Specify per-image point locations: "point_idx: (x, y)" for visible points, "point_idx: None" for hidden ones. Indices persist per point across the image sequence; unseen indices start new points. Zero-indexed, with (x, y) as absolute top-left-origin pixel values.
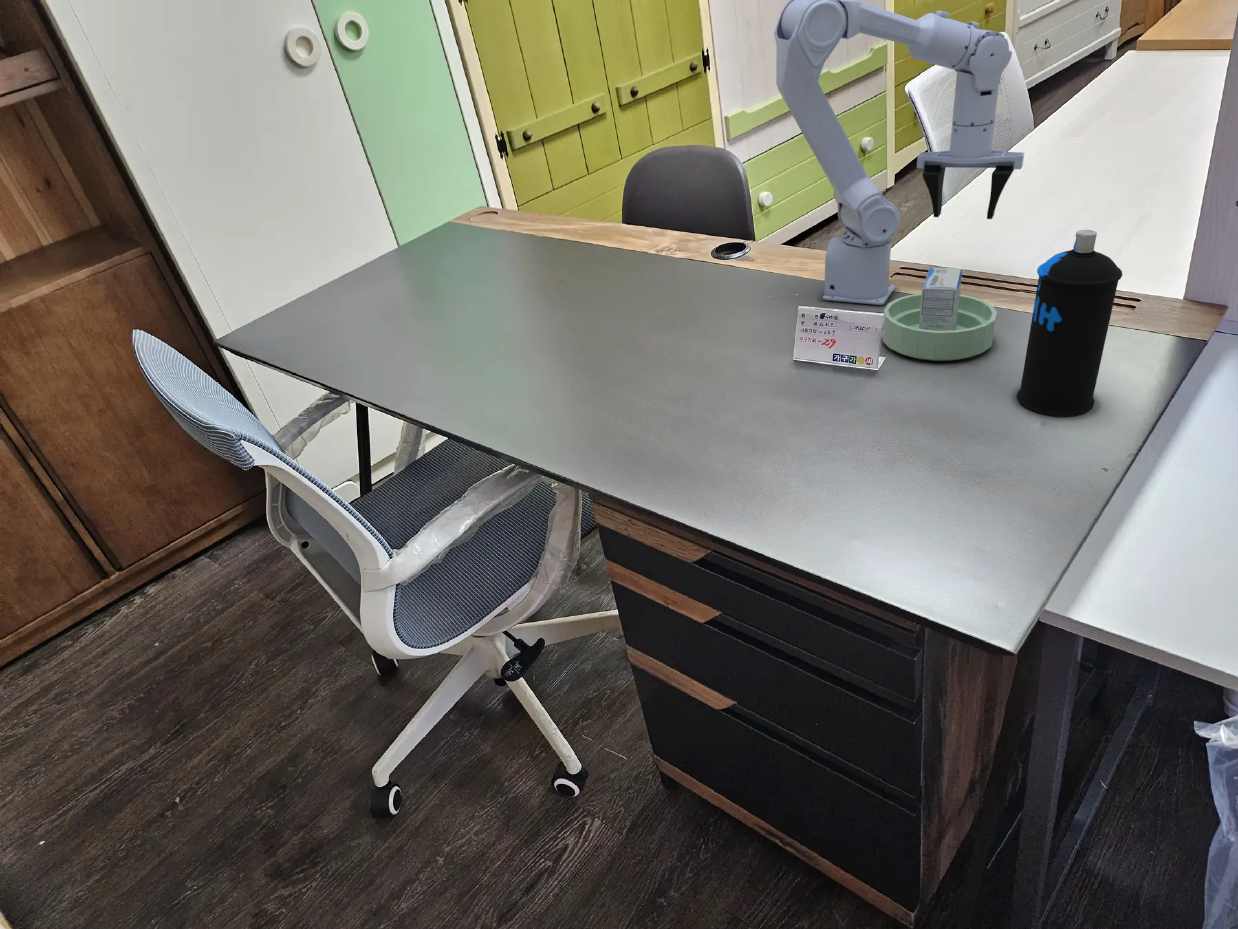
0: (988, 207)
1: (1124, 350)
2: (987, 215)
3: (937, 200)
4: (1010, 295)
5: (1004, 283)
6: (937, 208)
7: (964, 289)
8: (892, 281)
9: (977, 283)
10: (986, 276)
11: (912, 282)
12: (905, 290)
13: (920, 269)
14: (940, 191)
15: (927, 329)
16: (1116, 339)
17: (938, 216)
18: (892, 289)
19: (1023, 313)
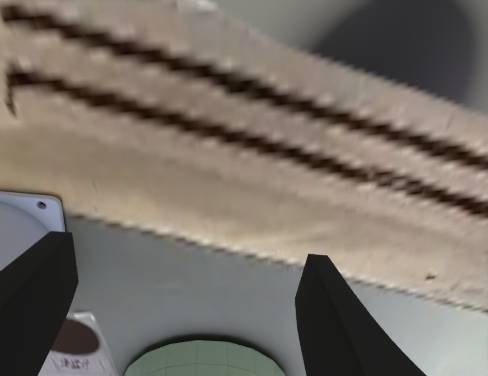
0: (303, 355)
1: (465, 373)
2: (297, 316)
3: (37, 371)
4: (341, 205)
5: (338, 128)
6: (57, 325)
7: (234, 181)
8: (31, 144)
9: (266, 136)
10: (293, 75)
11: (90, 146)
12: (90, 202)
13: (76, 22)
14: (8, 363)
15: None
16: (470, 348)
17: (77, 278)
18: (61, 228)
19: (352, 285)
